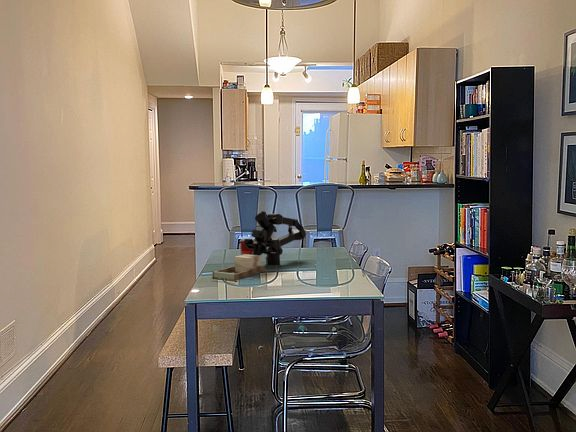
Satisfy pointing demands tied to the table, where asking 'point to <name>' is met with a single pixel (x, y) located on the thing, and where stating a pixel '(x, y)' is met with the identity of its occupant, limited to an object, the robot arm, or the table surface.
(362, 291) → the table surface
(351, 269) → the table surface
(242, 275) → the channel
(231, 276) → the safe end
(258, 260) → the birch block
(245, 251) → the canned food
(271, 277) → the table surface
